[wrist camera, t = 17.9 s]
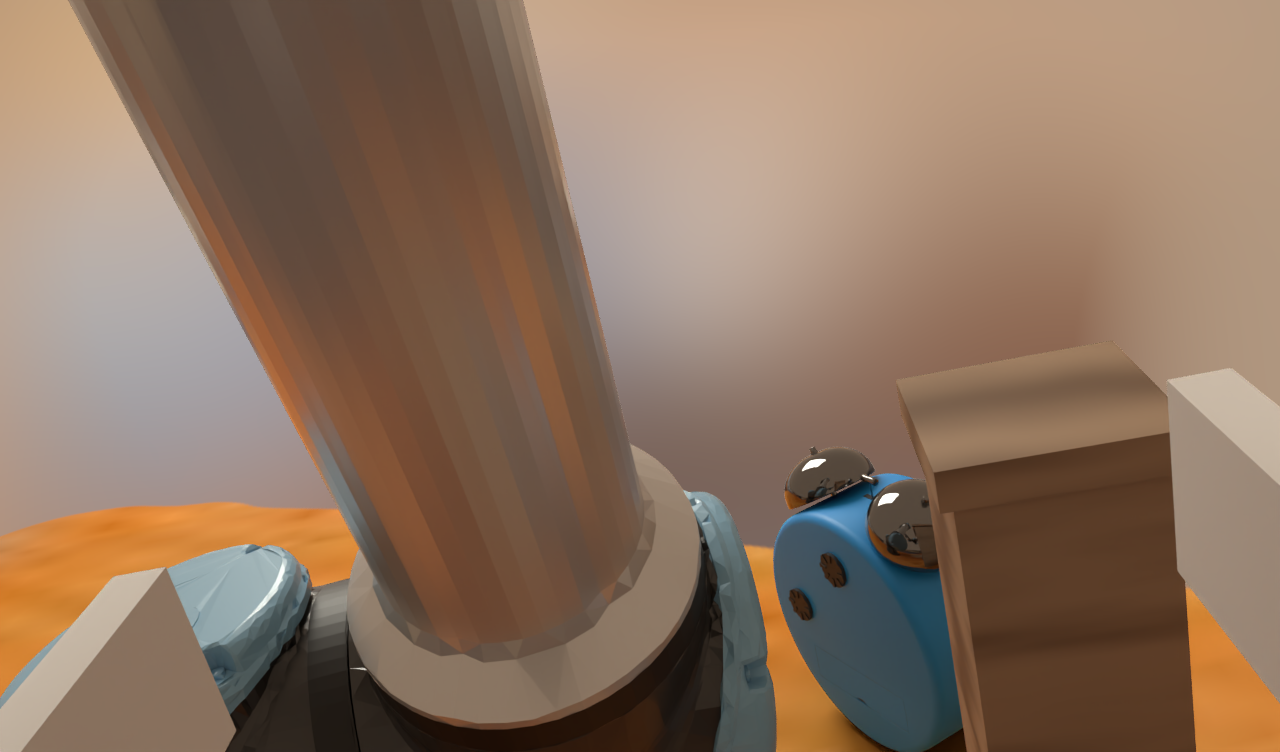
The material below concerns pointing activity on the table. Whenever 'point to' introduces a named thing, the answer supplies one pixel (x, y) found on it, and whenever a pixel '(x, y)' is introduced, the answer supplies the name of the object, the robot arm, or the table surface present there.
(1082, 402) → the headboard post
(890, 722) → the alarm clock
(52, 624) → the table surface
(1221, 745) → the table surface
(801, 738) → the table surface
